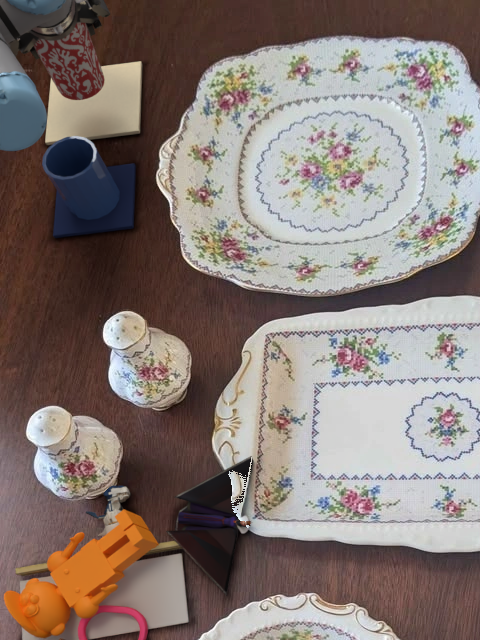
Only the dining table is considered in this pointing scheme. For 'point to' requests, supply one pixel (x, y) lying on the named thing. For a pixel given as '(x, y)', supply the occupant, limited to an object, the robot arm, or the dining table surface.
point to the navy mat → (113, 221)
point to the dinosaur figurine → (112, 507)
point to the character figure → (212, 524)
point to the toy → (80, 577)
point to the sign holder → (131, 597)
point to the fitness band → (115, 609)
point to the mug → (72, 64)
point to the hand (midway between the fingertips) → (61, 37)
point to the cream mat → (99, 107)
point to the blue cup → (81, 177)
